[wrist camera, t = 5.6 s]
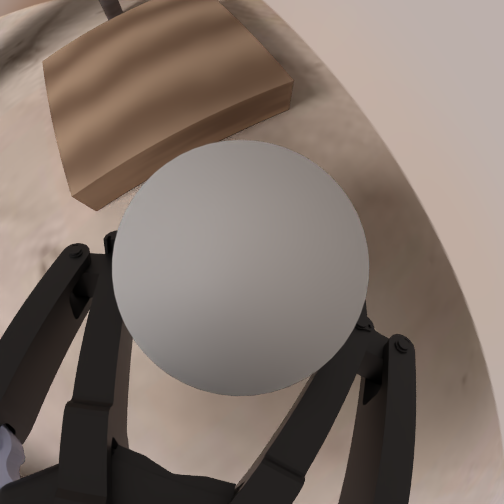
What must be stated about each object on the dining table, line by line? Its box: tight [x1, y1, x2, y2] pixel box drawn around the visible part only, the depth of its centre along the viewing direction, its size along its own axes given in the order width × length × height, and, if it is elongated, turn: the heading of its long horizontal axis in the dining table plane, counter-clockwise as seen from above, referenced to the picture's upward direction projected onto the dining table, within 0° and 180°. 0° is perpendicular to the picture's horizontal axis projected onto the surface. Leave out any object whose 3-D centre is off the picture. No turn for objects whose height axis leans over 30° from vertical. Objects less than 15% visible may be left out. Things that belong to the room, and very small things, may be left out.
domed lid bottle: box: [112, 140, 369, 396], centre depth 15 cm, size 7×7×14 cm
